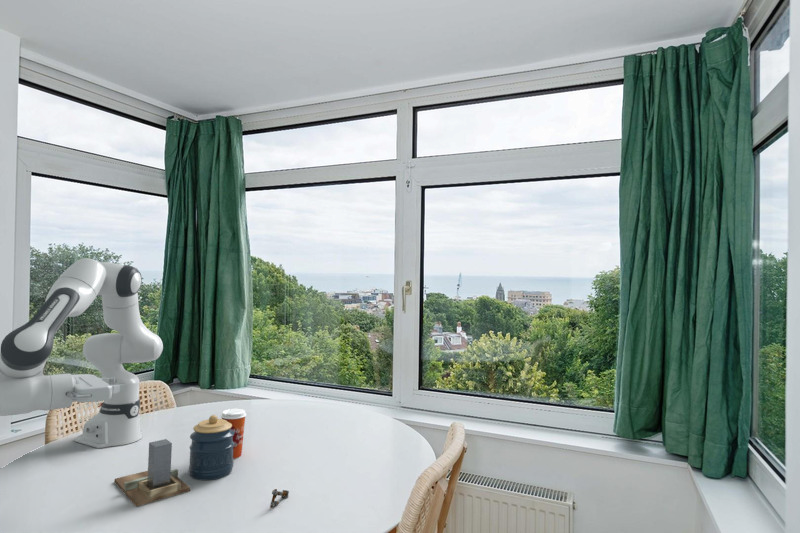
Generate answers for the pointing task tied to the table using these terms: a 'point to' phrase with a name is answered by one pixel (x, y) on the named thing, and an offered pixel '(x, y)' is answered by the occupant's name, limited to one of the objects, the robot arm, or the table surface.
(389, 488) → the table surface
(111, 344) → the robot arm
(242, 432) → the coffee cup
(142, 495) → the door board
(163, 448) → the bar
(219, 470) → the canister
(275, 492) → the wooden post with brackets
